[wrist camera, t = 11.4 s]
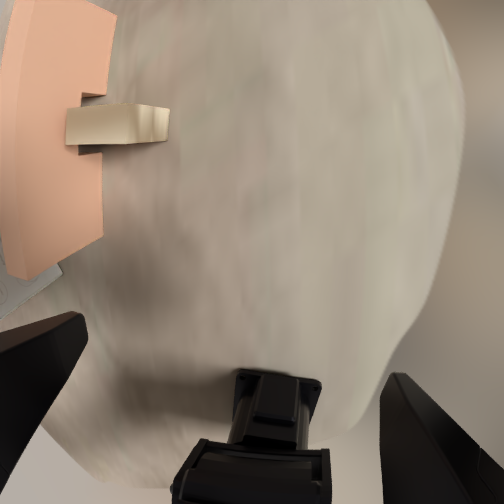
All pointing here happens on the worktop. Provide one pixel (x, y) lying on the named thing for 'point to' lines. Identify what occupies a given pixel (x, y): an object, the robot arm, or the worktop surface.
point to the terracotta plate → (49, 131)
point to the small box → (21, 286)
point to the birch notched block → (116, 124)
